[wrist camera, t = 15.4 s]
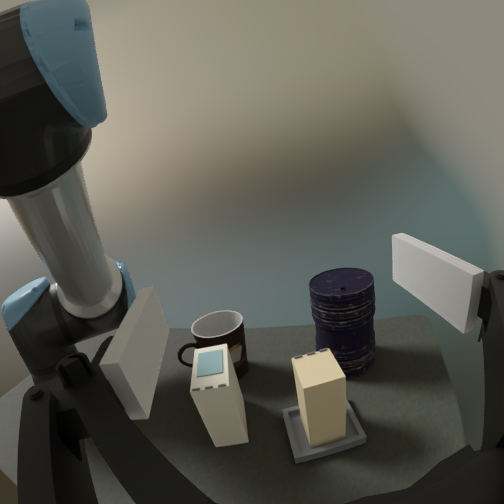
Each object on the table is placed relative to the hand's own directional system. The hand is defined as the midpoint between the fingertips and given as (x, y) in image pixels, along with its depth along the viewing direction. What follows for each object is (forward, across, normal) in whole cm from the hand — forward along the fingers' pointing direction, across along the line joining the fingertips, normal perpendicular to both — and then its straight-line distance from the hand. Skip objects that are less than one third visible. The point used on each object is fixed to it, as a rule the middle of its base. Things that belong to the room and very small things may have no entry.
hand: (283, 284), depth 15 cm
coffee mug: (+28, -9, -28) cm, 41 cm away
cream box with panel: (+16, -8, -27) cm, 32 cm away
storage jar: (+23, +12, -27) cm, 38 cm away
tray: (+10, +4, -27) cm, 29 cm away
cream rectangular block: (+10, +4, -26) cm, 28 cm away
